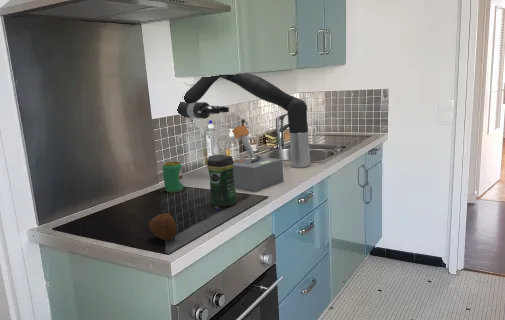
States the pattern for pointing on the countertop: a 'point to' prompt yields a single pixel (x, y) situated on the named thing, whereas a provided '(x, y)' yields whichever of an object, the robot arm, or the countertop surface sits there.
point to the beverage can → (173, 177)
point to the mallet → (245, 141)
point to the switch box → (257, 173)
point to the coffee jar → (221, 180)
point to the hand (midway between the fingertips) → (223, 110)
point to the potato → (163, 227)
